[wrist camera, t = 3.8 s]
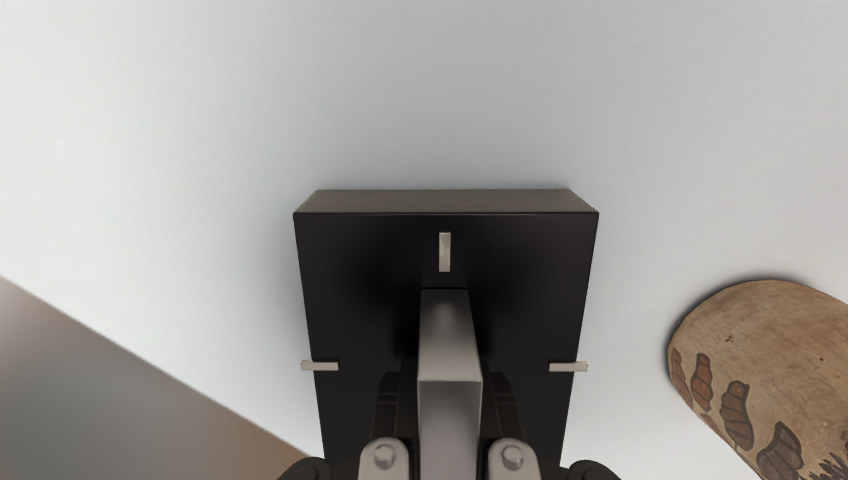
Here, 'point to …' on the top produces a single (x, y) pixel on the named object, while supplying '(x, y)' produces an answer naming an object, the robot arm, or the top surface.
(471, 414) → the grey rectangular block
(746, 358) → the figurine
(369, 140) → the top surface
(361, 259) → the tap plate
